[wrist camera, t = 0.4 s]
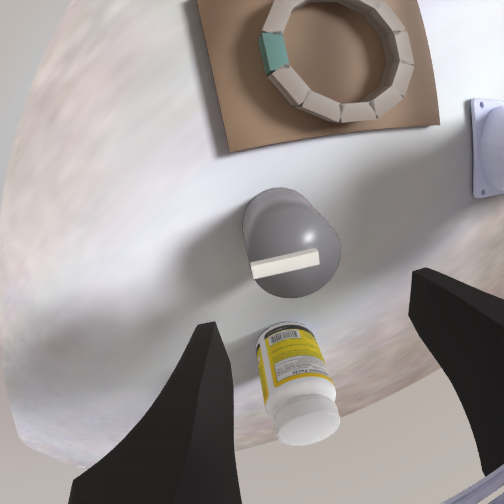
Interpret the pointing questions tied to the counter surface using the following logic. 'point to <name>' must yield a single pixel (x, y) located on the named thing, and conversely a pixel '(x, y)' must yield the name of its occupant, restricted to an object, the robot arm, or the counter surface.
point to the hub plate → (317, 67)
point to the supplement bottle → (296, 385)
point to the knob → (289, 244)
